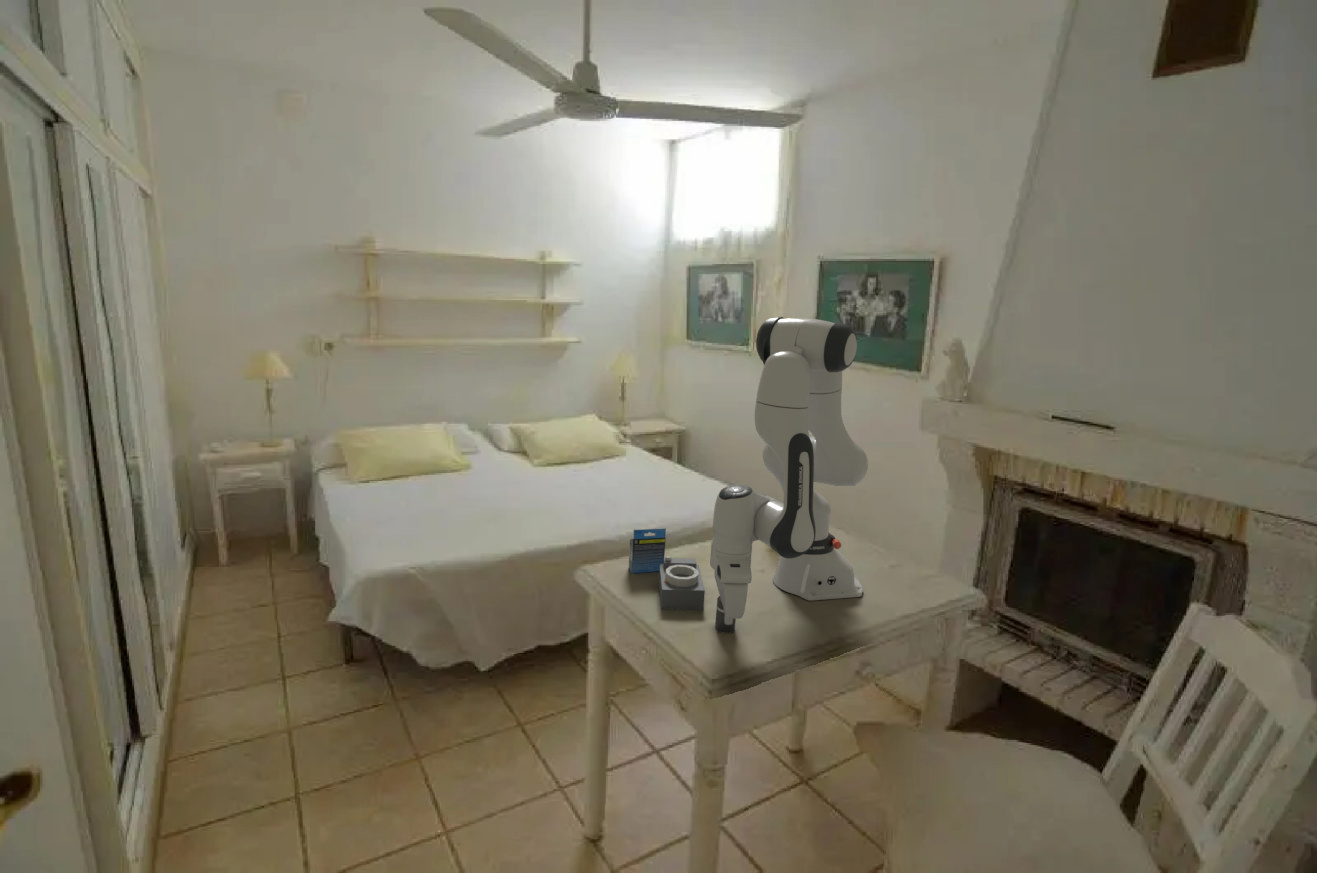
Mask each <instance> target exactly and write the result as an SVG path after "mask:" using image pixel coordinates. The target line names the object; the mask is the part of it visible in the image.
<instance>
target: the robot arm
mask: <svg viewBox="0 0 1317 873" xmlns="http://www.w3.org/2000/svg"><path fill="white" fill-rule="evenodd" d="M857 342H858V338H857V333H856V332H855V330H854V329H853V327H852V326H850V325H847V324H845V323H842V322H839V321H838V322H832V321H828V320H823V319H816V318H811V317H810V318H809V317H808V318H801V317H800V318H797V317H796V318H795V317H790V318H789V317H787V318H785V317H783V316H779V317H771V318H767V319H766V320H765V321H764V322H763V323H762V324H761V325H760V327H759V329H758V332H757V335H756V339H755V348H756V353H757V354H758V357H759V359H760V360H761V362H762V363H763V365H764V366H763V368H762V371H761V375H760V378H759V381H758V382H759V383H758V388H757V393H756V400H755V408H754V426H755V430H756V432H757V434H758V436H759V437H760V439H762V441H763V442H764V443H765V445H764V446H763V448H762V449H763V450H762V460H763V463H764V466H765V467H766V469H767V470H768V471H769V472H770V473H771V474H772V475H773V476H774V477H775V479H776V480H777V482H778V483H779V486H780V488H781V490H782V492H783V502H782V501H780V500H778V499H776V498H774V497H772V496H770V495H766V494H761V493H759V492H757V491H755V490H753V488H751V486H748V485H744V484H731V485H728V486H726V487H723V488H722V489H720V491H719V493H718V494H717V496H716V499H715V503H714V509H713V515H712V516H713V517H712V530H713V538H712V541H711V542H710V543H711V544H710V559H709V566H710V567H711V568H712V569H713V570H714V580H715V583H716V587H717V589H718V590H717V591H718V594H719V596H720V598H721V602H722V605H723V609H724V612H725V614H724V623H725V624H726V625H731V624H732V623H733V619H736V620H739V619H743V616H744V614H745V609H746V603H747V599H748V598H747V597H748V590H749V586H748V584H751V583H752V569H751V567H752V566H751V565H752V554H753V553H752V552H753V543H754V542H755V541H760V542H762V543H763V544H765V545H767V546H768V547H770V548H771V549H772V550H773V551H775V552H776V553H777V554H778V555H780V556H779V560H778V564H777V568H776V570H775V572H774V575H773V577H772V581H773V583H774V585H775V586H776V587H777V588H779V589H780V590H782V591H784V592H787V593H790V594H792V595H796V596H799V597H800V598H802V599H804V600H806V601H820V600H821V601H822V600H833V599H837V600H838V599H848V598H859V597H862V595H863V586H862V584H861V582H860V581H859V579H858V578H857V577H856V576H855V572H854V568H853V566H852V563H851V562H850V561H849V559H847V557H846V556H844V555H843V554H842V553H841V552H840V551H839V550H840V548H842V543H841V541H840V540H839V539H838V538H836V537H835V536H834V535H833V534H832V533H830V524H831V517H832V516H831V514H832V507H831V505H830V503H829V501H828V500H827V499H826V497H825V496H823V495H821V493H819V492H818V491H816V489H815V488H814V483H819V484H824V485H827V486H835V487H856V486H857V485H859V484H860V483H861V482H862V481H863V479H864V478H866V476H867V472H868V468H869V462H868V461H869V460H868V456H867V454H866V452H865V450H864V449H863V448H862V447H861V446H860V445H858V444H857V443H856V442H855V440H853V439H852V437H851V435H850V434H849V433H848V431H847V429H846V427H845V424H844V420H843V417H842V416H843V415H842V391H843V390H842V389H843V372H844V371H845V370H847V369H848V368H849V367H850V366H852V364H853V362H854V359H855V356H856V354H857V350H858V348H857V347H858V343H857ZM809 433H810V434H811V435H810V434H809Z"/></svg>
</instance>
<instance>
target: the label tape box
mask: <svg viewBox="0 0 1317 873" xmlns="http://www.w3.org/2000/svg"><path fill="white" fill-rule="evenodd" d="M666 529H667V528H647V529H646V528H645V529H642V528H641V529H633V538H630V539H629V549H628V550H629V551H628V569H629V572H630V573H631V574H642V573H643V574H644V573H654V572H655V573H656V572H659V564H664V558H665V557H666V556H665V554H666V553H665V552H666V542H667V541H666V540H667V538H666V533H667V532H666ZM649 533H650V534H654V535H647V534H649Z"/></svg>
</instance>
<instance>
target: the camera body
mask: <svg viewBox="0 0 1317 873" xmlns="http://www.w3.org/2000/svg"><path fill="white" fill-rule="evenodd" d="M658 588H659V589H658V591H659V600H660V609H661V610H683V611H685V610H688V611H689V610H690V611H691V610H692V611H693V610H694V611H704V606H705V594H706V591H705V586H704V581H703V577H702V574H701V568H700V565H699V564H697V560H696V558H687V557H686V558H685V557H684V558H683V557H672V556H670V555H669V556H668V555H666V556H664V564H659V571H658Z"/></svg>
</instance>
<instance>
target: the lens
mask: <svg viewBox="0 0 1317 873" xmlns="http://www.w3.org/2000/svg"><path fill="white" fill-rule="evenodd" d="M716 600H717V601H716V606H715V607H716V610H715V611H716V612H715V625H714V627H715V630H716V631H717V632H719V633H722V634H730V633H733V632H735V629H736V621H737V619H733V623H732V624H731V625H726V624H725V623H724V614H725V612H724V609H723V605H722V602H721V598H720V595H719V596H717V599H716Z"/></svg>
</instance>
